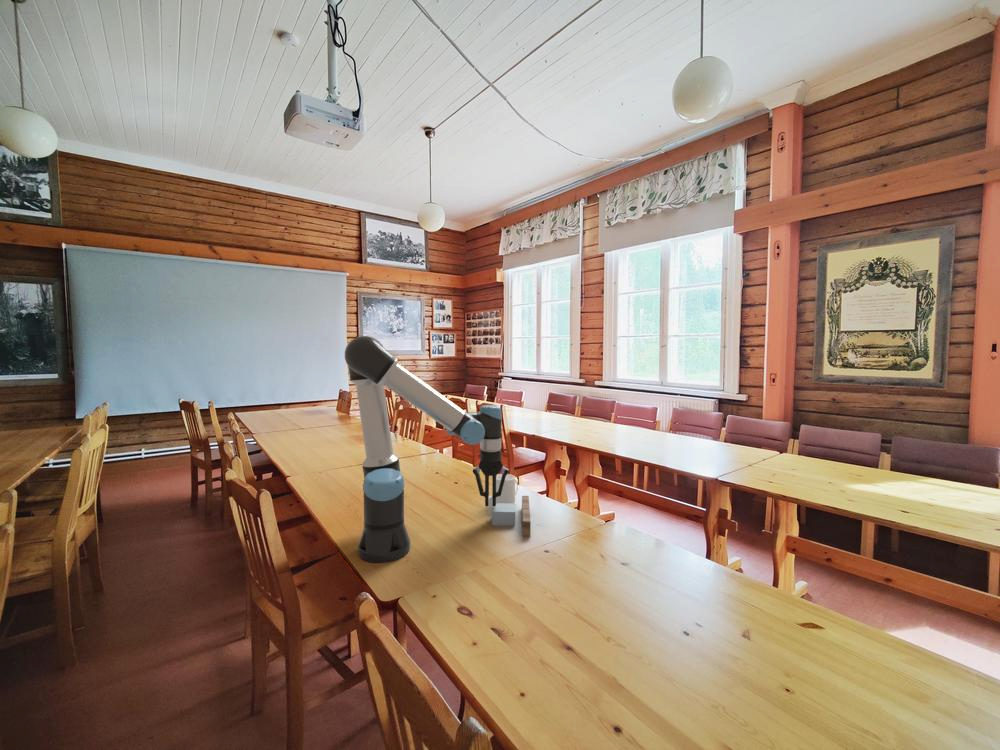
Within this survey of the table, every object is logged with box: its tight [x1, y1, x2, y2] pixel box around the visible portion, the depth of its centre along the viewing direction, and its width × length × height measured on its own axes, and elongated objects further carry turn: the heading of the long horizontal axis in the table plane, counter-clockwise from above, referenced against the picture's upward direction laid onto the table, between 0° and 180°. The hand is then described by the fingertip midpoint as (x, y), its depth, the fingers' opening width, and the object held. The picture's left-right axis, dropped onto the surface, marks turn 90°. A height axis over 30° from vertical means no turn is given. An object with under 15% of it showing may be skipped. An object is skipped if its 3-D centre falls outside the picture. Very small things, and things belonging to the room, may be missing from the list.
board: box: [521, 495, 531, 537], centre depth 150 cm, size 24×2×5 cm, turn 178°
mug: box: [496, 473, 519, 504], centre depth 168 cm, size 9×12×11 cm
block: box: [491, 503, 516, 527], centre depth 151 cm, size 8×8×5 cm
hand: (490, 514), depth 151 cm, fingers closed
